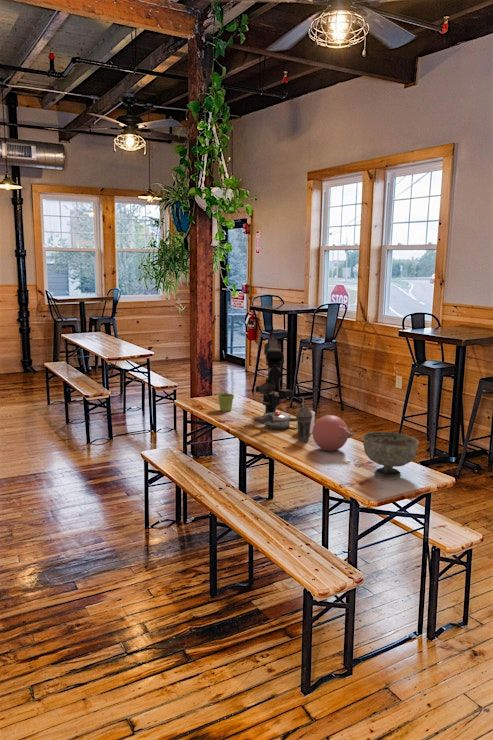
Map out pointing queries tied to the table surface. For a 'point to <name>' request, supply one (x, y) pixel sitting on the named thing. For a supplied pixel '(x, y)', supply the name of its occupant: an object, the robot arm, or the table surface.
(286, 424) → the pot
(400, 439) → the bowl
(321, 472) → the table surface
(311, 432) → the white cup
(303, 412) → the beverage cup
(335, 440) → the balloon
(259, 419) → the lid
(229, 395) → the plant pot
